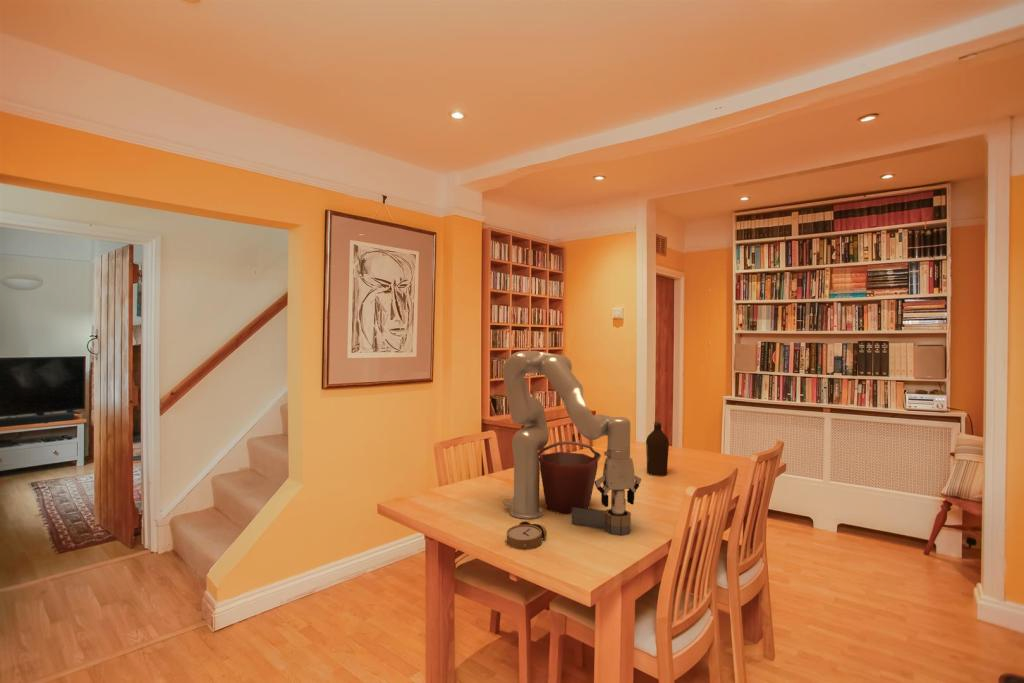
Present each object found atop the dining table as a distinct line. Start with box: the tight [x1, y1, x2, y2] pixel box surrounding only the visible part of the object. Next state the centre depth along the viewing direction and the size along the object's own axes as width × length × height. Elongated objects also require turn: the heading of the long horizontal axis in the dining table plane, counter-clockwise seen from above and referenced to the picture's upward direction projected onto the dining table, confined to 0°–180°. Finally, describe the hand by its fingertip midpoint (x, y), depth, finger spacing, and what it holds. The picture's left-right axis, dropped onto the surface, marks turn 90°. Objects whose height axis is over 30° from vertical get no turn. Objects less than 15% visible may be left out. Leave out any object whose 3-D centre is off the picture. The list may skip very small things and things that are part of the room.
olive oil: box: [645, 421, 670, 476], centre depth 245 cm, size 11×11×25 cm
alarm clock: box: [504, 520, 548, 550], centre depth 162 cm, size 11×5×15 cm
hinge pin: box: [610, 489, 626, 516], centre depth 171 cm, size 4×4×14 cm
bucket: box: [538, 441, 602, 515], centre depth 194 cm, size 24×22×25 cm
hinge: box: [570, 498, 632, 536], centre depth 179 cm, size 20×20×6 cm
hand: (617, 504), depth 172 cm, fingers open, 9 cm apart
